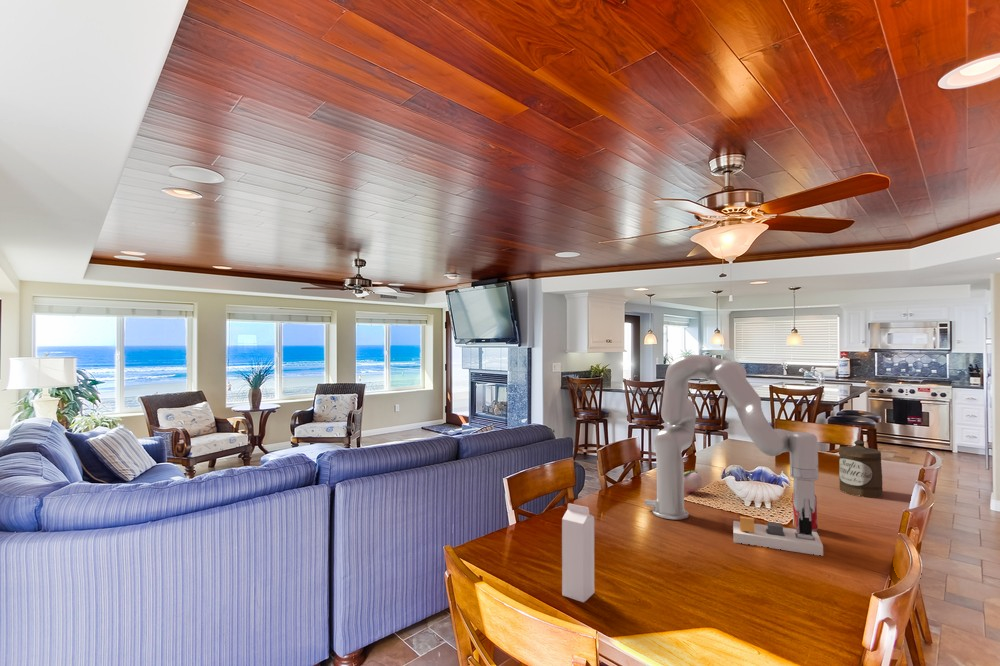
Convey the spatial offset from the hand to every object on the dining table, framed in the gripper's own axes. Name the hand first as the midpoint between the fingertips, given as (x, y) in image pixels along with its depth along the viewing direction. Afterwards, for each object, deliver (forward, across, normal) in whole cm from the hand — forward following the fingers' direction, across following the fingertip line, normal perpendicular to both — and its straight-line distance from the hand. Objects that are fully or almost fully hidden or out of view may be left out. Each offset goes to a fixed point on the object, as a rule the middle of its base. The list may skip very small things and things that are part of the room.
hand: (805, 532), depth 154 cm
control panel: (+4, 0, -8) cm, 9 cm away
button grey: (+3, 0, 0) cm, 4 cm away
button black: (+2, 0, -8) cm, 9 cm away
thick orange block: (+4, +3, -16) cm, 17 cm away
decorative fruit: (+4, -45, -36) cm, 58 cm away
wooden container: (+5, -77, +29) cm, 82 cm away
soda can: (+4, -17, +2) cm, 18 cm away
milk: (+4, +59, -55) cm, 81 cm away
